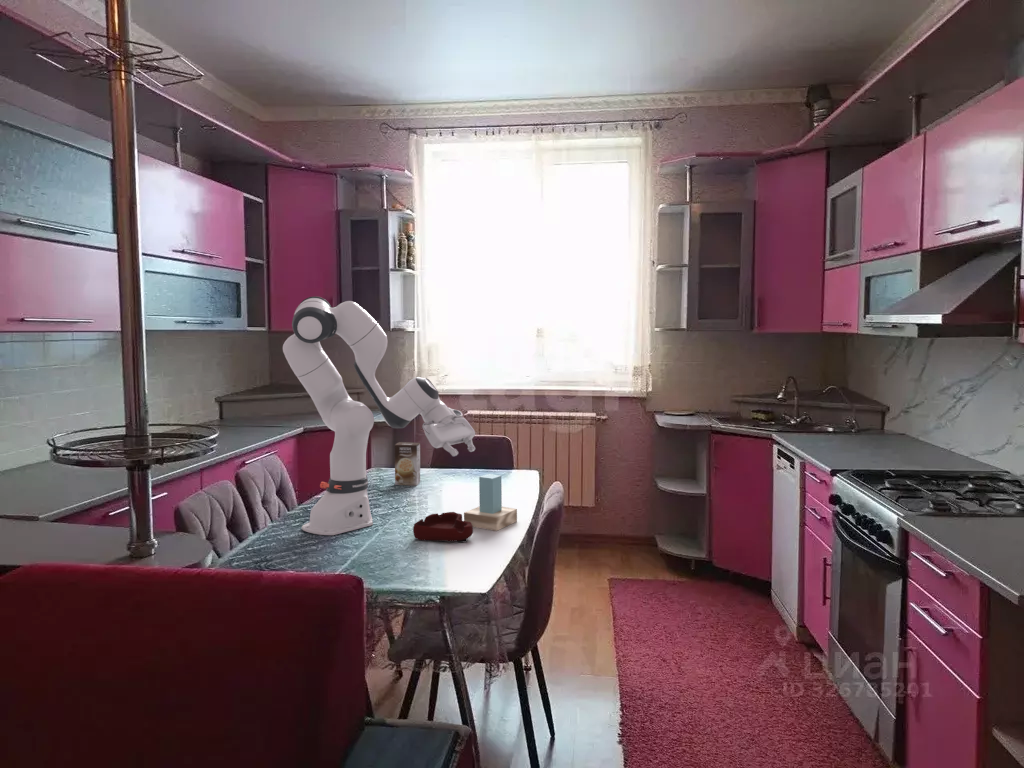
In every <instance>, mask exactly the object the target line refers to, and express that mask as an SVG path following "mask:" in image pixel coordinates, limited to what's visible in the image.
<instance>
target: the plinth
mask: <svg viewBox="0 0 1024 768" xmlns="http://www.w3.org/2000/svg"><path fill="white" fill-rule="evenodd" d="M463 521H468V522H471V523H472V526H473V528H476V529H477V528H478V529H483V530H488V531H494V532H497V531H500V530H502V529H504V528H506V527H508V526H510V525H513V524H515V523H516V522H517V521H518V509H517V508H513V507H506V506H502V510H501V511H498V512H496V513H494V514H491V513H485V512H480V505H478V506H477V507H474V508H471V509H470V510H467V511H465V512H464V513H463Z"/></svg>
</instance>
